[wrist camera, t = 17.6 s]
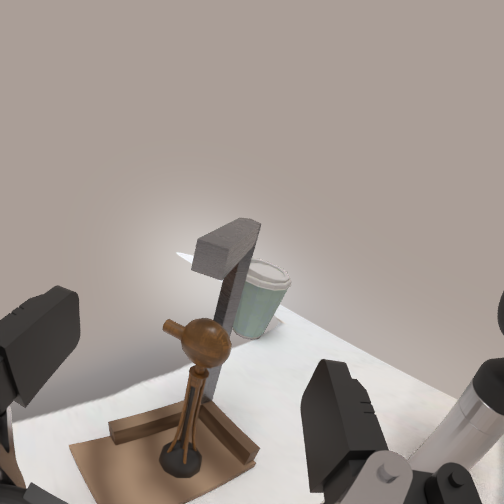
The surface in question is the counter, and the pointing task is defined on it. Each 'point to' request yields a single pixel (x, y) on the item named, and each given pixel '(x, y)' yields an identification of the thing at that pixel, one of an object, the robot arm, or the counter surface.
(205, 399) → the stand
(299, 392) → the counter surface
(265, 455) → the counter surface
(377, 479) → the robot arm
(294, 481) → the counter surface
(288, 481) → the counter surface
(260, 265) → the disposable coffee cup
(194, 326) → the wooden tabletop sculpture
